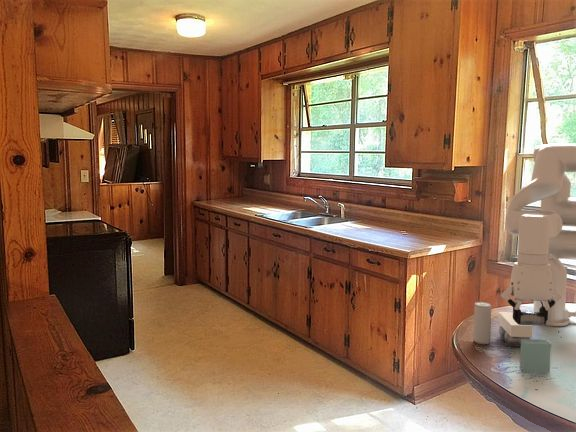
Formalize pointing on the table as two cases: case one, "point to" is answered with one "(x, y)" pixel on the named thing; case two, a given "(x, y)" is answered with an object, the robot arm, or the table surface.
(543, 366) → the block
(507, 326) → the slab
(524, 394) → the table surface
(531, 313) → the roller
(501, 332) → the cylinder
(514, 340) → the cylinder
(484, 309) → the beverage can
